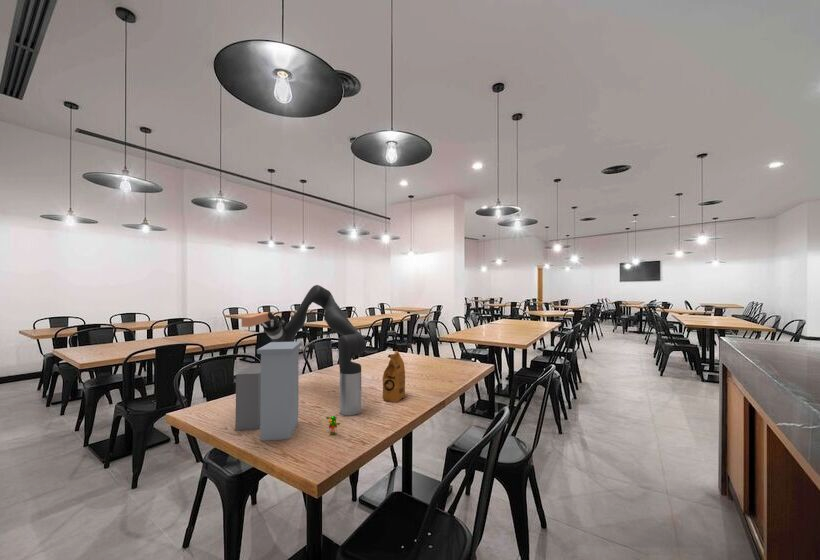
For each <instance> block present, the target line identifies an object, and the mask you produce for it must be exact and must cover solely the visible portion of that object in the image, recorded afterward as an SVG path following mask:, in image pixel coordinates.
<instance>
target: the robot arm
mask: <svg viewBox="0 0 820 560" xmlns="http://www.w3.org/2000/svg"><path fill="white" fill-rule="evenodd" d="M312 303H313V304H316V305H317V306H320V307H321V308H322V309H323V310H324V314H323V316H324V317H323V318H324V321H325V323H326V324H327V326H328V327H329V329H331V330H332V331H333V332H335V333H337V334H339V335H341V336H339V339H338V342H337V350H338V351H337V352H338V367H339V414H340V415H342V416H356V415H359V414H360V415H361V414H362V364H360V363H359V362H354V361H351V357H354V356H360V355H362V354H364V353H365V352H366V349H367V343H366V340H365V338H364V336H363V335H362V333H360V332H359V331H358V329H357V328H356V327H355V326H354V325H353V324H352V323H351V322H350V321H351V320H349V319H348V317H347V316H346V314H345V313H344V311H343V310H342V309H341V308H340V306H339V304H337V302H336V301H335V299H334V296H333V295H332V292H331V291H330V290H328V289H326V288H324V287H323V286H321V285H319V284H314V285H313V286H312V287H311V288H310V289H309V291H308V292H307V293H306V295H305V297H304V299H303V300H302V302H301V303H300V305H299V307H298V309H297V310H296V312H295V313H294V314H293V316H292V317H291V318H290V320H289V321H288V322H287V324H286V325H285V321H286V319H284V318H283V317H281V316H280V315H277V314H276V315H275V314H273V312H272V311H267V312H268V317H269V319H271V320H270V321H267V322H264V323H261V324H259V325H260V326H261V327H262V328H263V330H264V332H265V333H266V335H267V336H268V337H269V338H270V340H271V342H294V341H295V338H296V336H297V334H298V332H299V331H300V330H301V329H302V328H303V326H304V325H305V322H306V320H307V314H308V310H309V307H311V305H312ZM271 312H272V313H271ZM258 313H262V312H261V311H258ZM284 325H285V326H284ZM255 326H257V325H255ZM255 326H254V327H255ZM283 326H284V327H283Z"/></svg>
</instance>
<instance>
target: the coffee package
mask: <svg viewBox="0 0 820 560" xmlns="http://www.w3.org/2000/svg"><path fill="white" fill-rule="evenodd" d="M387 358H390V360H389V362H388V364H387V366H386V368H385V369H384V371H383V375H382V400H383V401H385V402H389V401H391V403H399V402H400V400H403V399H404V398H405V396H406V371H405V370H406V369H405V363H404V361H403V358H402V356H401V354H400V352H399V351H398V350H395V351H394V353H391V354H388V355H387ZM402 398H403V399H402Z"/></svg>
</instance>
